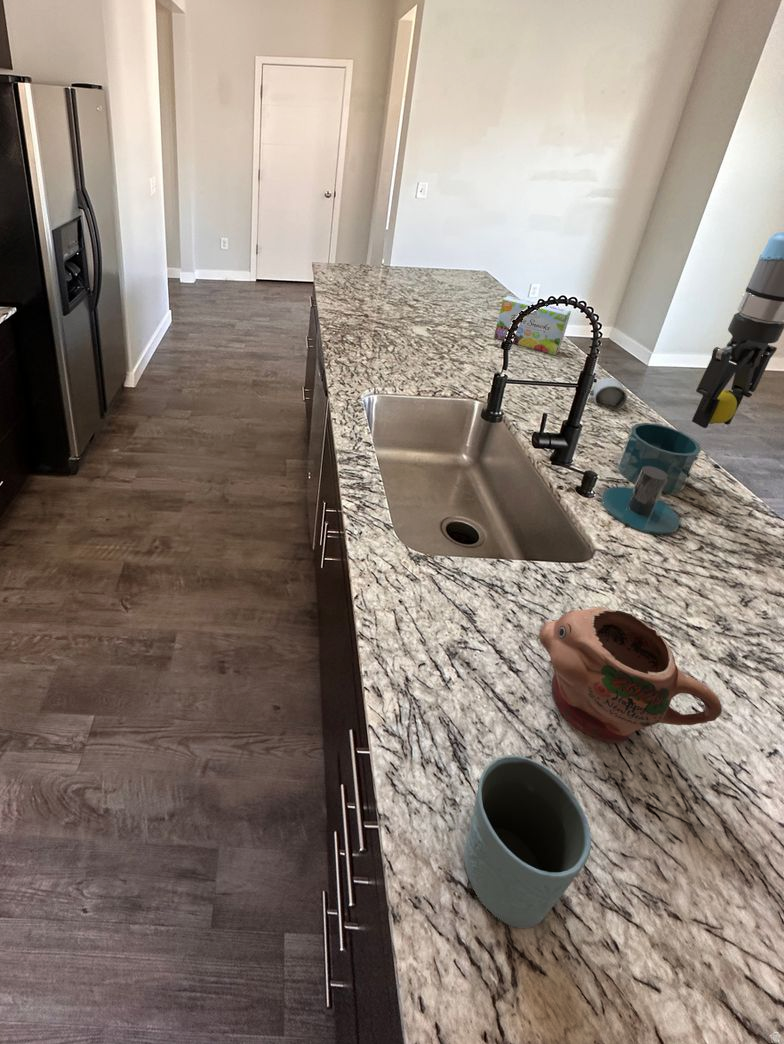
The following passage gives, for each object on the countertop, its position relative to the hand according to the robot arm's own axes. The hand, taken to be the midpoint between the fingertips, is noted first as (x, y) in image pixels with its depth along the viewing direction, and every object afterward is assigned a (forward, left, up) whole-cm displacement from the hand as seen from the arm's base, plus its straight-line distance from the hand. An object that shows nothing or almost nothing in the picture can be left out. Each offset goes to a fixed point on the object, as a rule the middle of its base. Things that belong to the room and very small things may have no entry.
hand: (710, 422), depth 110 cm
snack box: (+76, -21, -17) cm, 81 cm away
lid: (-4, +16, -17) cm, 24 cm away
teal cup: (-46, +80, -17) cm, 94 cm away
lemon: (0, 0, -1) cm, 1 cm away
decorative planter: (-35, +56, -17) cm, 68 cm away
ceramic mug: (+35, -13, -17) cm, 41 cm away
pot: (+5, +3, -17) cm, 18 cm away
